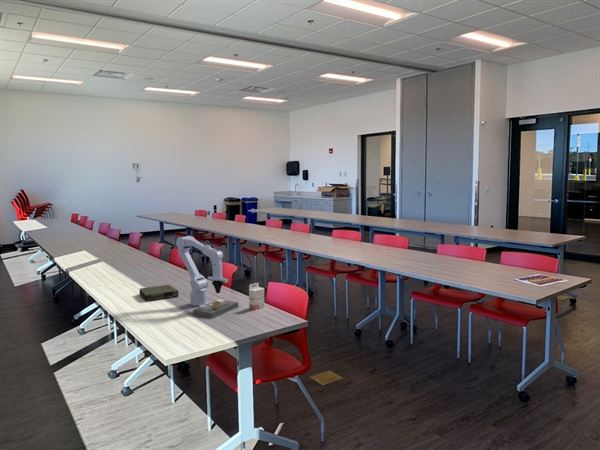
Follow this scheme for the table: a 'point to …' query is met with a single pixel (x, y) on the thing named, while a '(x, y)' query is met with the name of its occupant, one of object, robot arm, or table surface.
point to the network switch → (158, 292)
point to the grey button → (204, 307)
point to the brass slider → (215, 305)
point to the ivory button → (220, 301)
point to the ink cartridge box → (256, 296)
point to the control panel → (216, 312)
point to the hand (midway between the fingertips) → (218, 292)
